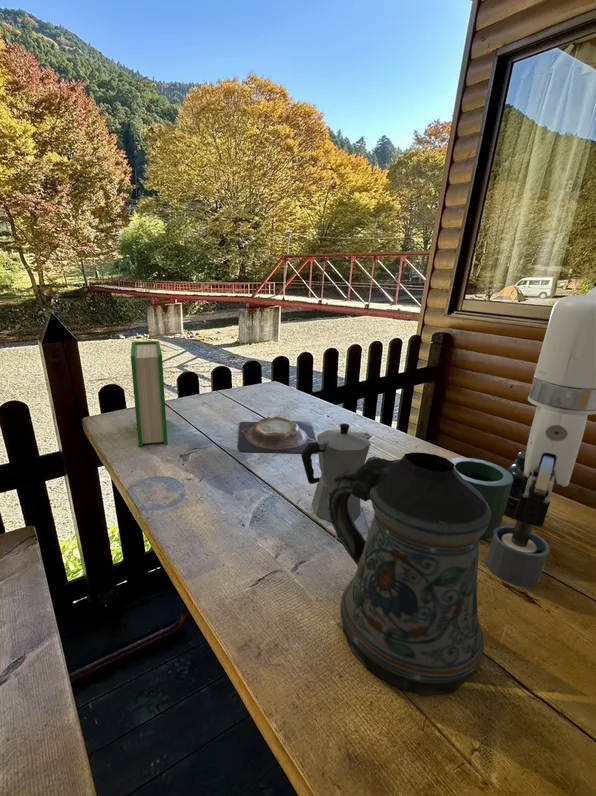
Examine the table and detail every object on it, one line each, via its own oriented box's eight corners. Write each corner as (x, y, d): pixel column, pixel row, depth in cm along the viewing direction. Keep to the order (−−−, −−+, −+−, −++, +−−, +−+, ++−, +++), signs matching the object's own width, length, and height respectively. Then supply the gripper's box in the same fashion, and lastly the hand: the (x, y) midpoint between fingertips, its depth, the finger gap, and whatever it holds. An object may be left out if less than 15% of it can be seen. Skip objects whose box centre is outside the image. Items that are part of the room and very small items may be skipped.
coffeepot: (346, 490, 86) (355, 409, 79) (379, 513, 78) (392, 427, 71) (283, 508, 80) (288, 423, 73) (313, 536, 72) (321, 443, 65)
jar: (482, 510, 79) (495, 459, 75) (508, 543, 70) (525, 487, 66) (428, 506, 80) (438, 456, 76) (446, 539, 71) (459, 483, 67)
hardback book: (167, 444, 107) (162, 354, 98) (138, 447, 106) (130, 356, 97) (163, 420, 123) (158, 340, 115) (138, 422, 122) (131, 341, 113)
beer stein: (497, 718, 43) (565, 521, 34) (311, 672, 48) (329, 489, 39) (459, 600, 58) (500, 441, 49) (320, 574, 63) (334, 425, 54)
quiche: (310, 422, 121) (311, 410, 119) (321, 454, 102) (322, 439, 100) (239, 421, 122) (239, 409, 120) (237, 452, 103) (237, 437, 101)
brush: (496, 555, 66) (521, 468, 61) (529, 567, 64) (558, 477, 58) (492, 570, 63) (518, 480, 57) (527, 583, 61) (558, 490, 55)
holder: (523, 558, 66) (532, 527, 64) (548, 590, 60) (560, 557, 58) (477, 554, 67) (485, 523, 65) (497, 586, 61) (507, 553, 59)
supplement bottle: (503, 521, 76) (519, 463, 71) (490, 501, 82) (504, 447, 77) (545, 526, 74) (565, 468, 70) (529, 505, 80) (546, 450, 76)
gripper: (609, 420, 45) (561, 554, 51) (599, 383, 57) (561, 495, 64) (525, 406, 49) (491, 531, 55) (533, 375, 62) (505, 480, 68)
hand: (529, 510), depth 60 cm, fingers open, 5 cm apart
